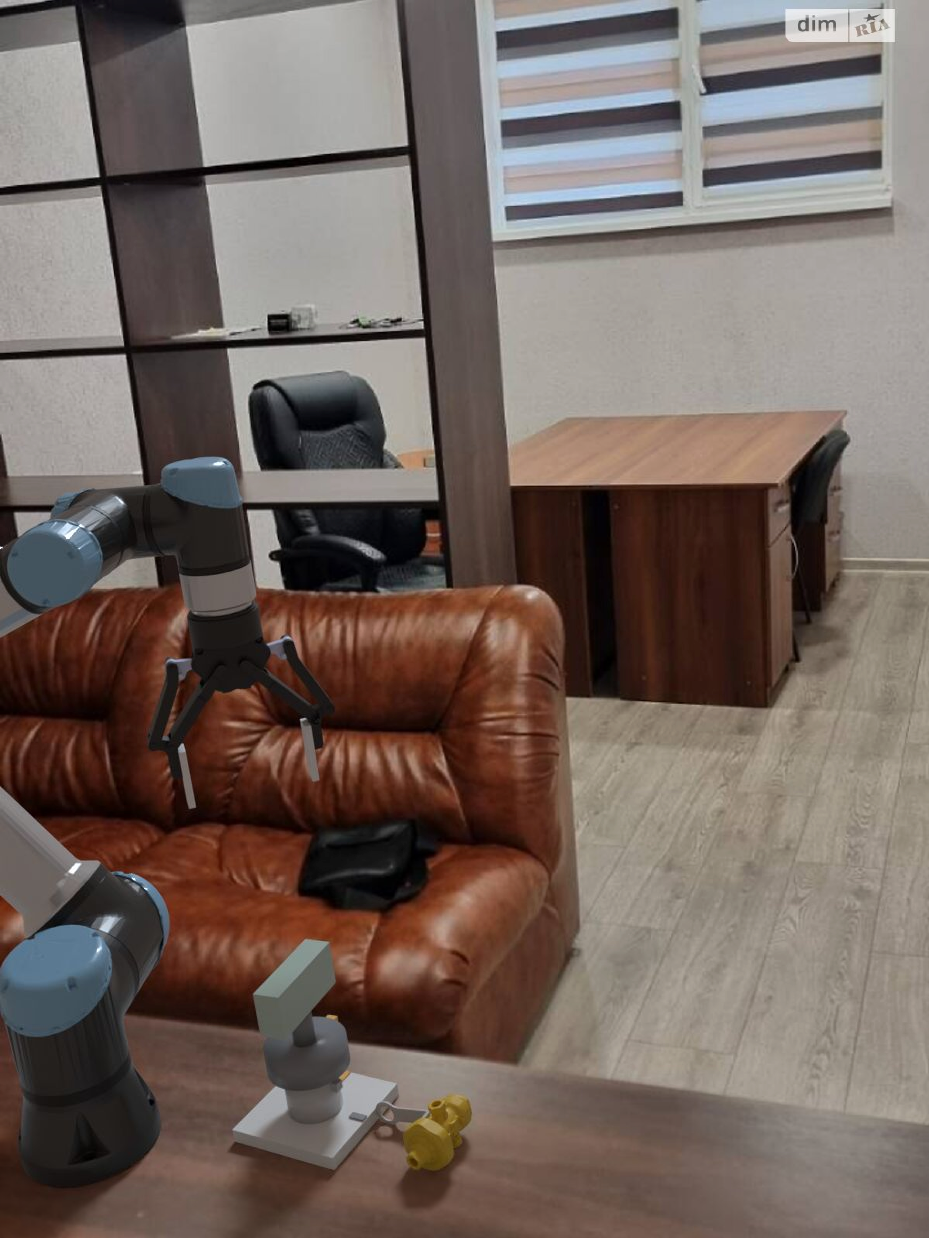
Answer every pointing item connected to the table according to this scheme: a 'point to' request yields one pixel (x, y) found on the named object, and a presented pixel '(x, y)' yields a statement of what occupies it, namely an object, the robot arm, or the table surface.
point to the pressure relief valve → (431, 1130)
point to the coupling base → (320, 1135)
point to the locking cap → (301, 1021)
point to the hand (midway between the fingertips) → (253, 790)
